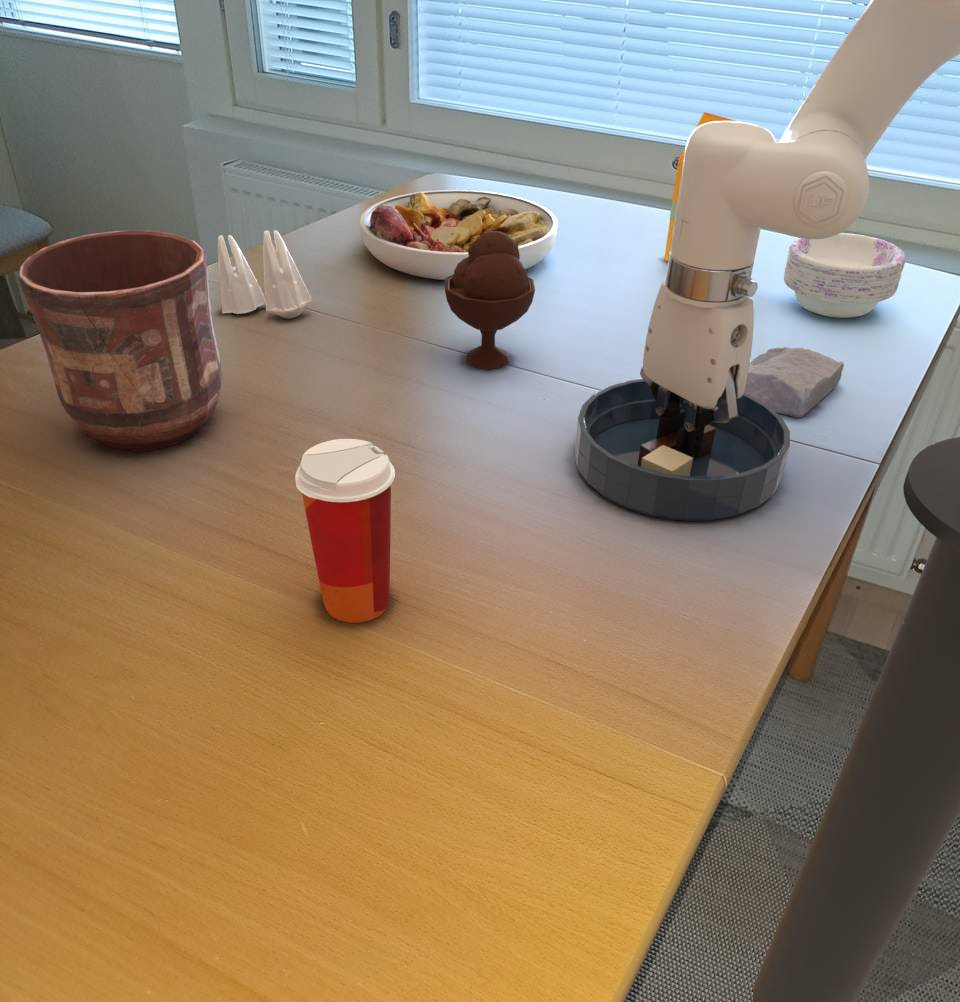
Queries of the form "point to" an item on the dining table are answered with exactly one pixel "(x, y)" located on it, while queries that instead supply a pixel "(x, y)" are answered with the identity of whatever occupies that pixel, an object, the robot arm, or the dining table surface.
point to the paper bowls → (843, 273)
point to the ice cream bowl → (490, 293)
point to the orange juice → (704, 120)
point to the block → (668, 461)
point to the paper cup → (349, 525)
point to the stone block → (792, 379)
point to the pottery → (127, 334)
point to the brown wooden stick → (671, 443)
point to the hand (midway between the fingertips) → (676, 453)
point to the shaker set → (280, 280)
